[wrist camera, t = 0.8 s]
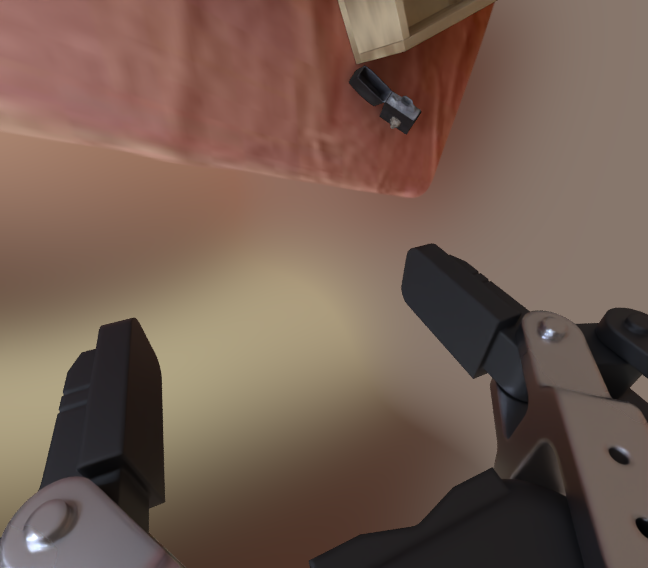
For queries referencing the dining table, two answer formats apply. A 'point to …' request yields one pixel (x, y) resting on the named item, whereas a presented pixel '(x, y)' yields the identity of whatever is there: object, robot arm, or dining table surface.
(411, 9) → the caddy
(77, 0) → the dining table surface
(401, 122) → the lighter
